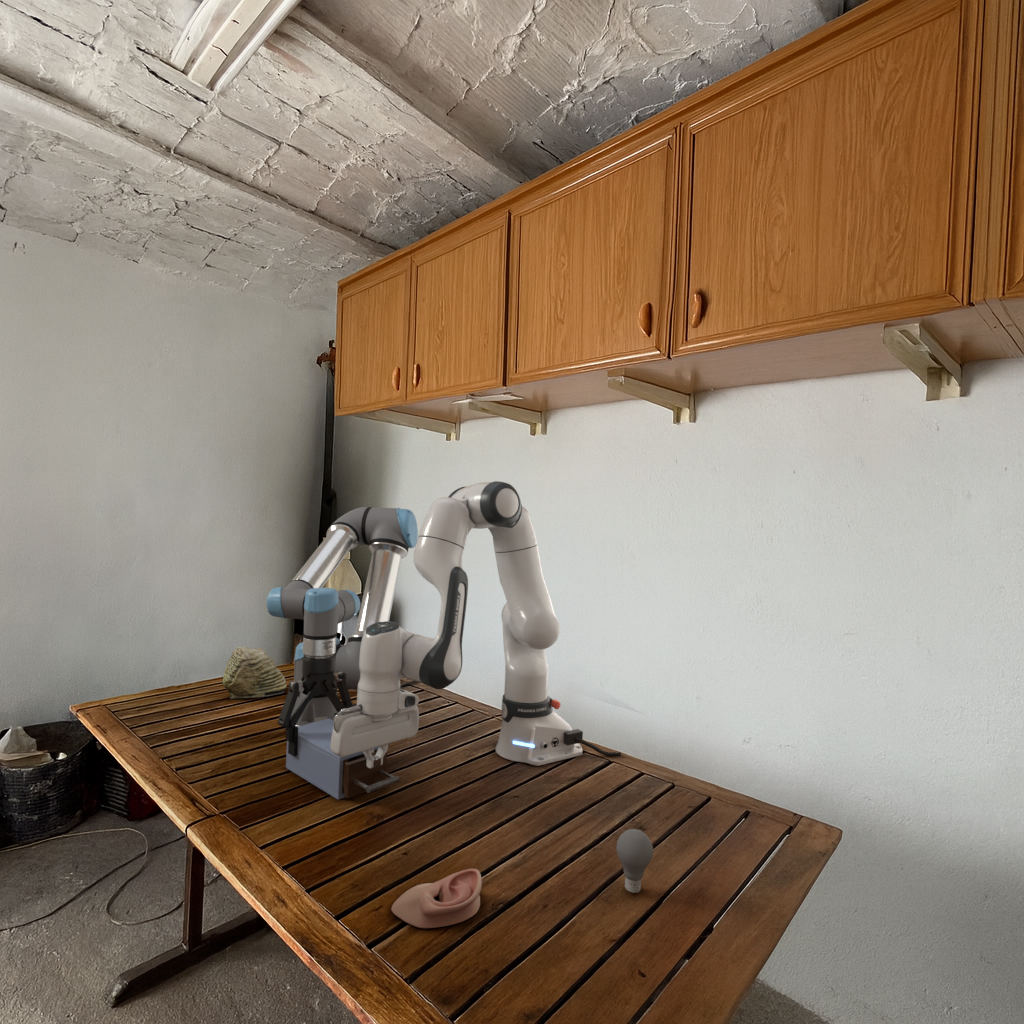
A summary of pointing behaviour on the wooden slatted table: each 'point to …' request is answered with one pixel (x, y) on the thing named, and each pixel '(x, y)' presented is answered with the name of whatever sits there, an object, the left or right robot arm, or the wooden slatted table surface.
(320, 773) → the cabinet
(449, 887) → the anatomical model
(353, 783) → the drawer
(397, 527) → the left robot arm
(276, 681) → the fossil
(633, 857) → the light bulb
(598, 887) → the wooden slatted table surface
